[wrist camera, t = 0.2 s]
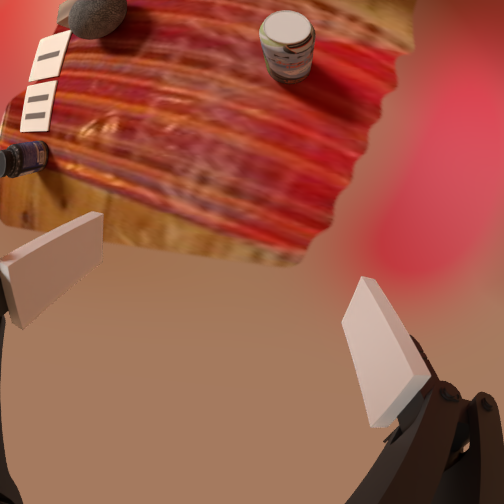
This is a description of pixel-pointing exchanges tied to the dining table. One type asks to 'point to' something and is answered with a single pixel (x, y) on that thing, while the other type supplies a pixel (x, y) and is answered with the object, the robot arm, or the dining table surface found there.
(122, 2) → the decorative ball
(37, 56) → the coaster
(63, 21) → the walnut block
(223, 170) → the dining table surface
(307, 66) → the beverage can
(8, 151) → the pill bottle
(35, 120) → the coaster
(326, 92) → the dining table surface
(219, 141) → the dining table surface
